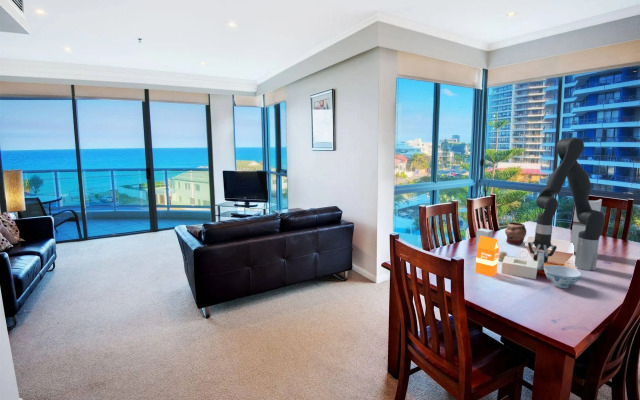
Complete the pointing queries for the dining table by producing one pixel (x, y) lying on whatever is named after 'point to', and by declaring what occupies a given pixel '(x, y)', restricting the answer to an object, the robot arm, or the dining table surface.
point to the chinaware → (562, 275)
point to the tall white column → (579, 226)
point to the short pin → (502, 256)
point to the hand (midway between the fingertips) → (540, 261)
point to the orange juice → (487, 256)
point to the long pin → (540, 260)
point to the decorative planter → (515, 233)
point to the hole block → (519, 267)
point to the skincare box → (483, 233)
